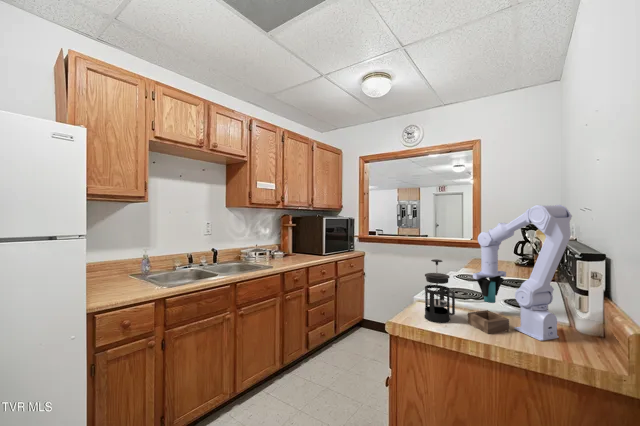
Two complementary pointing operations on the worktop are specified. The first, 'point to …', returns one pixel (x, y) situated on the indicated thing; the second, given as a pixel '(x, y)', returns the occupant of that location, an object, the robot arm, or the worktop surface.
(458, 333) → the worktop surface
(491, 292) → the peg
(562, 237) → the robot arm
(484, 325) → the socket block
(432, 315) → the french press
